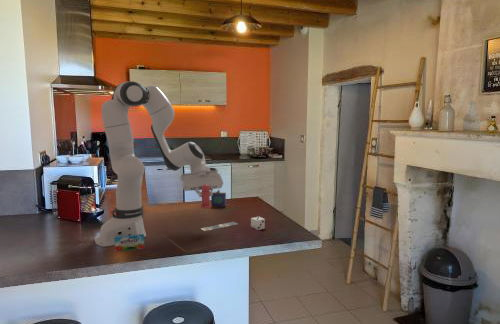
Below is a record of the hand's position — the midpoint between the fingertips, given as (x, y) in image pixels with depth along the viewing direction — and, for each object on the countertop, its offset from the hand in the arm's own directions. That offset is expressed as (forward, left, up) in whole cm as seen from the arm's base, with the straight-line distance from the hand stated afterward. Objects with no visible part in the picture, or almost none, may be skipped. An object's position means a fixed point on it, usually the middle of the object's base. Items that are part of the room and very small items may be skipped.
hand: (206, 195), depth 172 cm
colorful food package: (-38, -2, -18) cm, 42 cm away
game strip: (+8, +1, -18) cm, 20 cm away
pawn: (0, +1, -6) cm, 6 cm away
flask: (+29, +38, -18) cm, 51 cm away
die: (+24, -10, -18) cm, 32 cm away
